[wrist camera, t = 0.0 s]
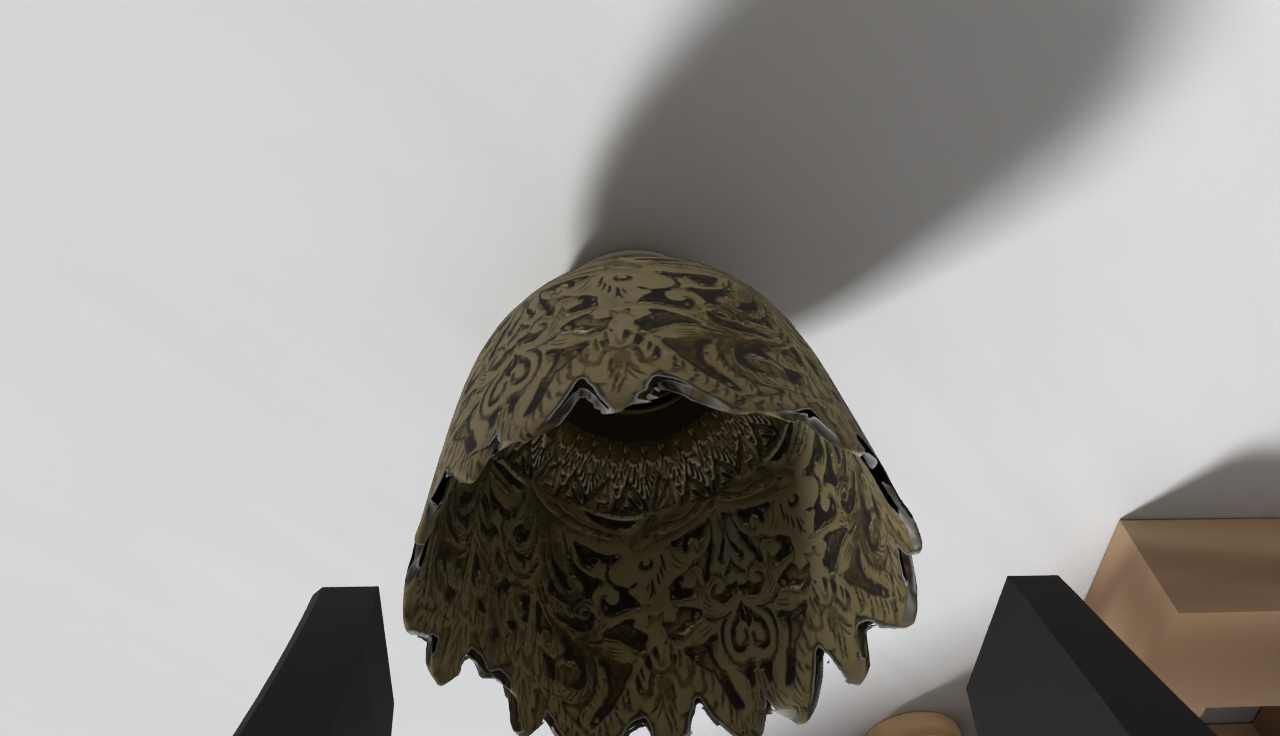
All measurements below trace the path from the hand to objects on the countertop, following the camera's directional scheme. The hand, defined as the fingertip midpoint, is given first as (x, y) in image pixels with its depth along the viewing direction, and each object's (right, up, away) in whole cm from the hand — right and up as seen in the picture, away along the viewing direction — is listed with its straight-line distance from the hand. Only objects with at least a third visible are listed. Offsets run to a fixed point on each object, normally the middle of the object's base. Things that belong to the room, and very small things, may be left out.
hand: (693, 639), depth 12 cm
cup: (-1, +4, +10) cm, 10 cm away
